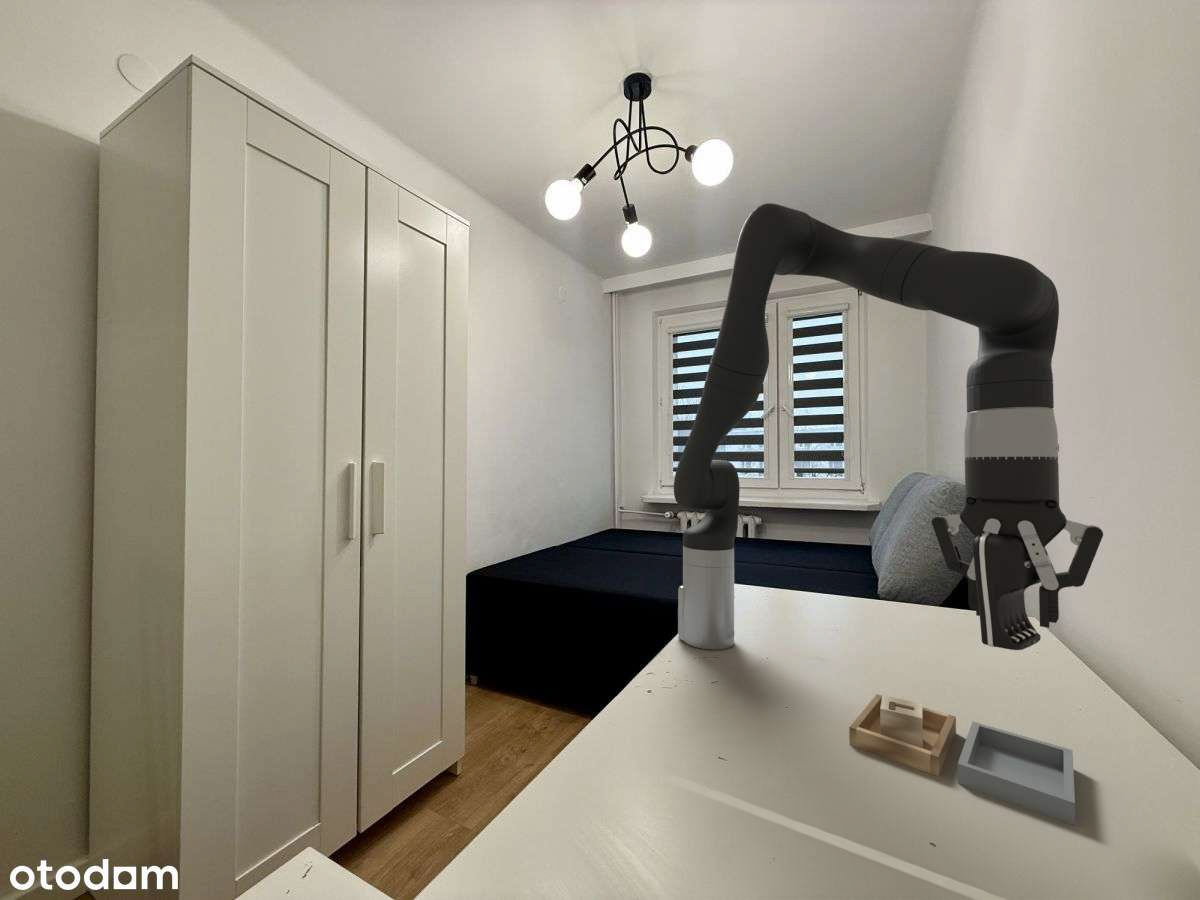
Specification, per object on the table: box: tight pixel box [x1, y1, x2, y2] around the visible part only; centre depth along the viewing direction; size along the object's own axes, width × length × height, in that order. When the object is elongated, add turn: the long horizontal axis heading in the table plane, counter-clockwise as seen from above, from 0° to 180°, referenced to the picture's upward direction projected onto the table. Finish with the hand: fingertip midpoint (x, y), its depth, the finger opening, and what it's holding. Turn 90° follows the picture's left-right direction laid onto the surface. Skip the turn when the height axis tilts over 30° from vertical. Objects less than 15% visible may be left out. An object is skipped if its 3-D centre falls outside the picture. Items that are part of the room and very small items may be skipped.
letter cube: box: [880, 694, 923, 748], centre depth 56 cm, size 4×4×4 cm
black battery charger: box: [972, 534, 1041, 651], centre depth 51 cm, size 7×4×11 cm, turn 121°
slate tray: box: [957, 721, 1076, 827], centre depth 50 cm, size 8×11×2 cm
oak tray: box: [848, 693, 957, 777], centre depth 57 cm, size 8×11×2 cm
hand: (1012, 619), depth 51 cm, fingers closed on black battery charger, 4 cm apart
